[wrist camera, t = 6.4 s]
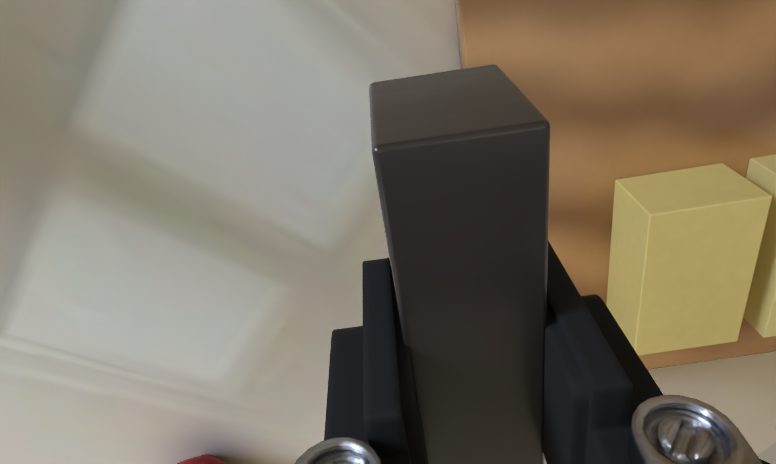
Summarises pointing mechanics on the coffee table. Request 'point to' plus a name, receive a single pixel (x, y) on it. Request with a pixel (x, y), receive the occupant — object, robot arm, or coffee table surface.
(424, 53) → the coffee table surface
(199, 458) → the onion
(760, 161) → the block
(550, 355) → the robot arm
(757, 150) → the cutting board
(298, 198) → the coffee table surface
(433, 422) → the knife
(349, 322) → the coffee table surface
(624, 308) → the butter block
